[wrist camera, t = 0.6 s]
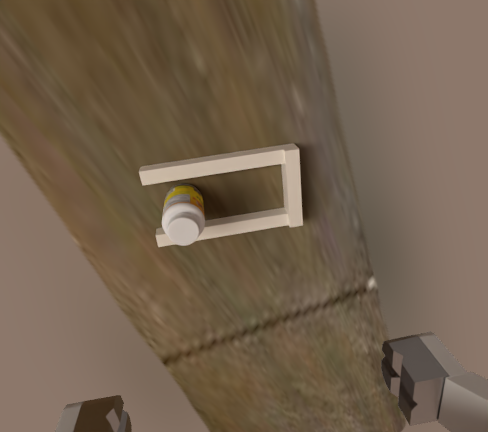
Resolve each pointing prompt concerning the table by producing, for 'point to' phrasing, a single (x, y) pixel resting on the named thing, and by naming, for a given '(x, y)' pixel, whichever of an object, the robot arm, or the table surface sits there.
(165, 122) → the table surface
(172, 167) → the u rest
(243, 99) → the table surface
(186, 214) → the supplement bottle
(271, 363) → the table surface
